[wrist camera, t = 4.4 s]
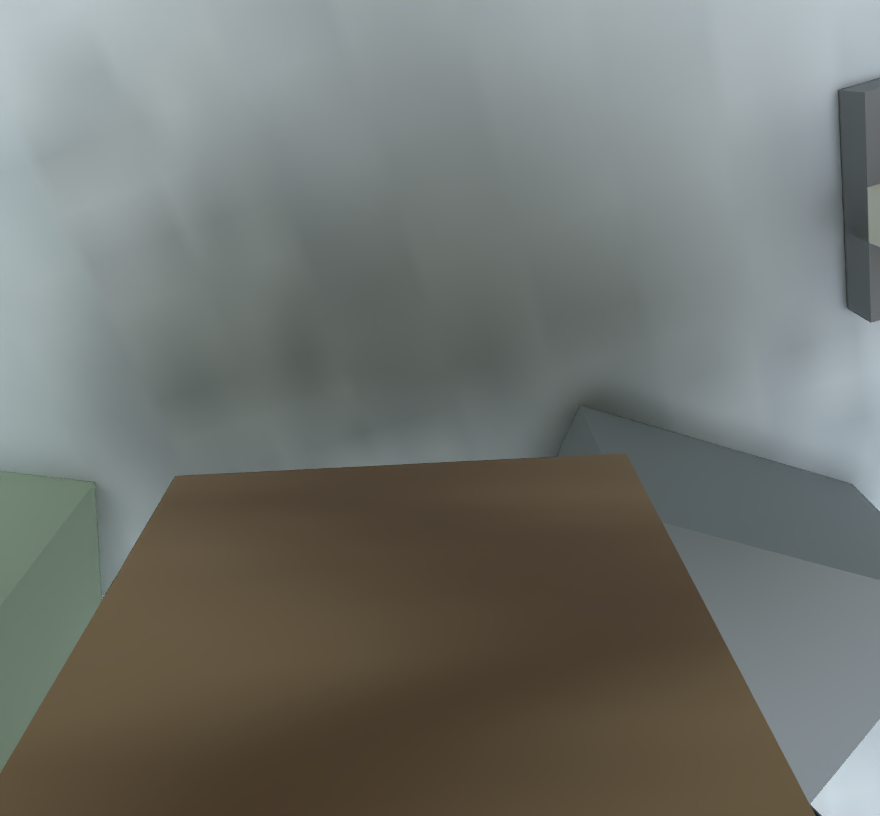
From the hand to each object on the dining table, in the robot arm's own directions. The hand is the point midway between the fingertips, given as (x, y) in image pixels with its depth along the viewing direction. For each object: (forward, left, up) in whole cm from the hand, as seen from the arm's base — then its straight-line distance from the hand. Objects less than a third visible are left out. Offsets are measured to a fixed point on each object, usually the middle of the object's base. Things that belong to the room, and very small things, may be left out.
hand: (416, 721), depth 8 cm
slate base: (-5, -8, -11) cm, 14 cm away
